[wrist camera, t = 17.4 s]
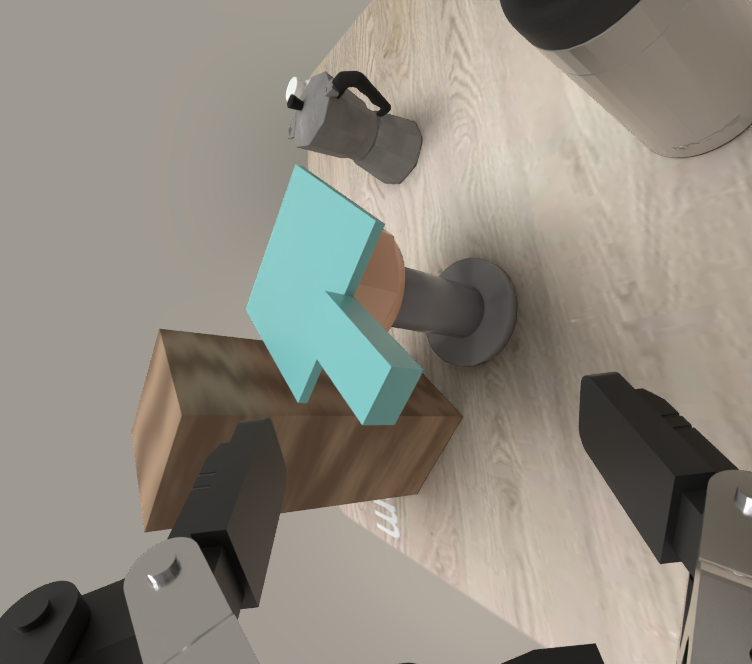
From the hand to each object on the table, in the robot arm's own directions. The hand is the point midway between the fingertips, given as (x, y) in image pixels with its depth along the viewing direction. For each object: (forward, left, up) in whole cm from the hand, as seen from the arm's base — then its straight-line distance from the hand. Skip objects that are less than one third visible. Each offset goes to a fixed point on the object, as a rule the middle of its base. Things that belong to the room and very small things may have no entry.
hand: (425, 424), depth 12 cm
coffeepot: (-41, -31, -31) cm, 60 cm away
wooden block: (-3, -34, -31) cm, 46 cm away
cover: (-11, -19, -9) cm, 24 cm away
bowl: (-14, -22, -31) cm, 41 cm away
